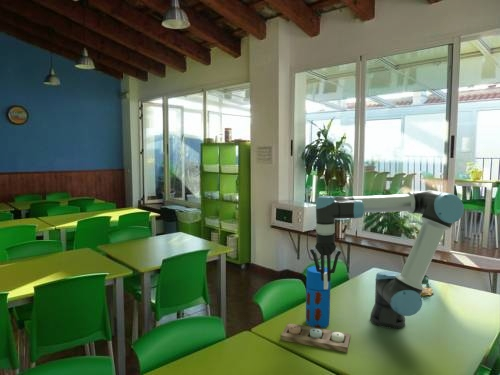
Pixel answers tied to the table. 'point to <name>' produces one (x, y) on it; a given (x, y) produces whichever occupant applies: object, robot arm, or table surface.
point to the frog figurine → (426, 287)
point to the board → (311, 341)
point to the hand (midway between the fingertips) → (326, 288)
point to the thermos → (317, 299)
